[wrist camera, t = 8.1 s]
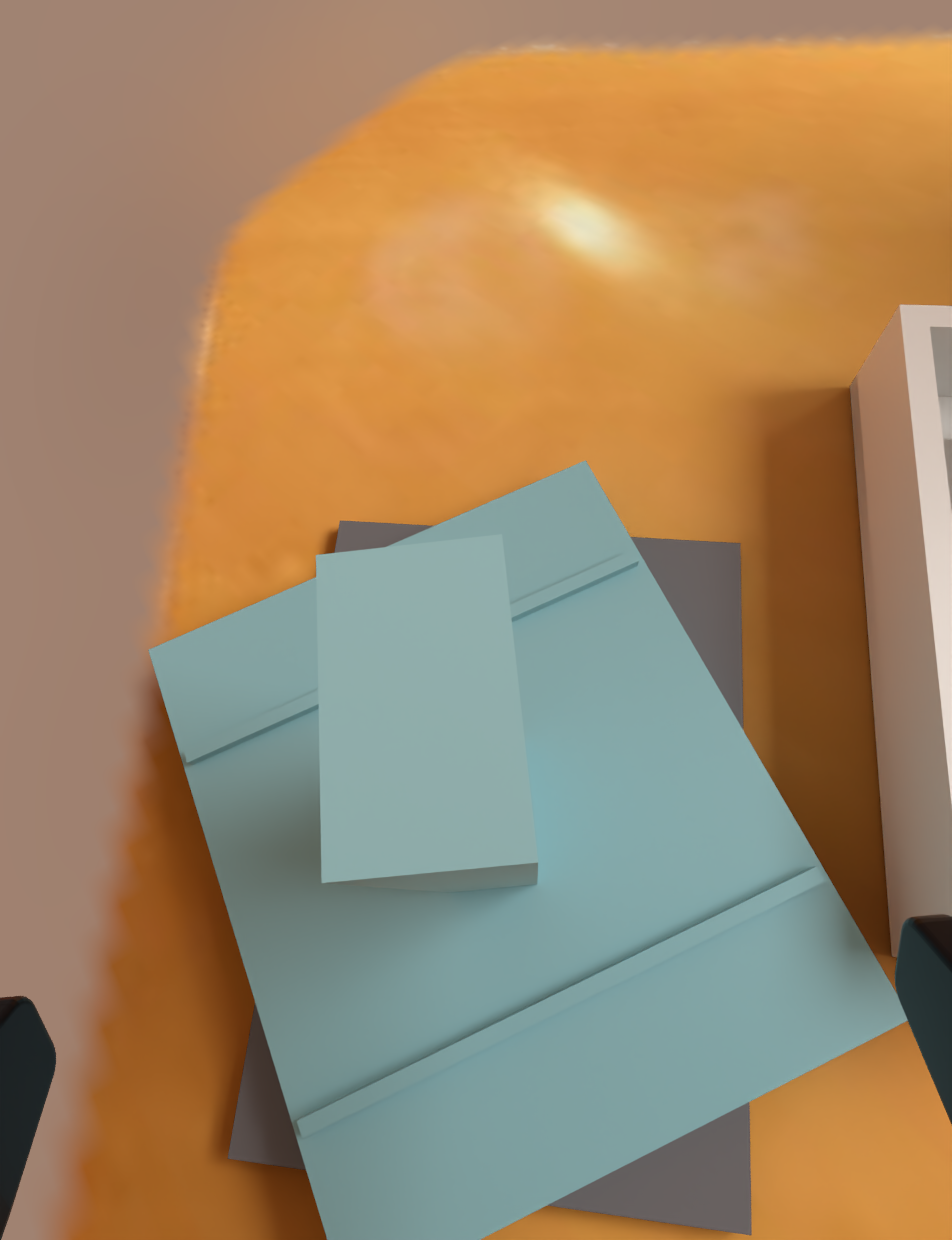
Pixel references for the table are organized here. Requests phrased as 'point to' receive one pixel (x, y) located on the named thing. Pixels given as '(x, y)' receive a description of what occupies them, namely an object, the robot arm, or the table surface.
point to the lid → (503, 868)
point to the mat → (696, 1162)
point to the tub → (910, 597)
